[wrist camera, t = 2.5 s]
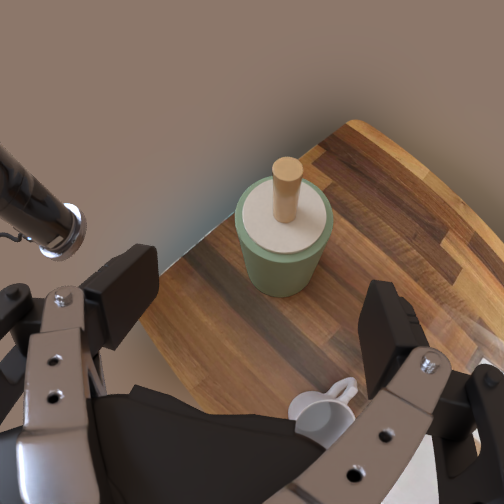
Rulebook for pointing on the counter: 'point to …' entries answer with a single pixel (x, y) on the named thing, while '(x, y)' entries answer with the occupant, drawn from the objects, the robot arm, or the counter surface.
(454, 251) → the counter surface
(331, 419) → the mug
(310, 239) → the lid
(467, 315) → the counter surface
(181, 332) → the counter surface
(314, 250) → the cylinder
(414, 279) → the counter surface
